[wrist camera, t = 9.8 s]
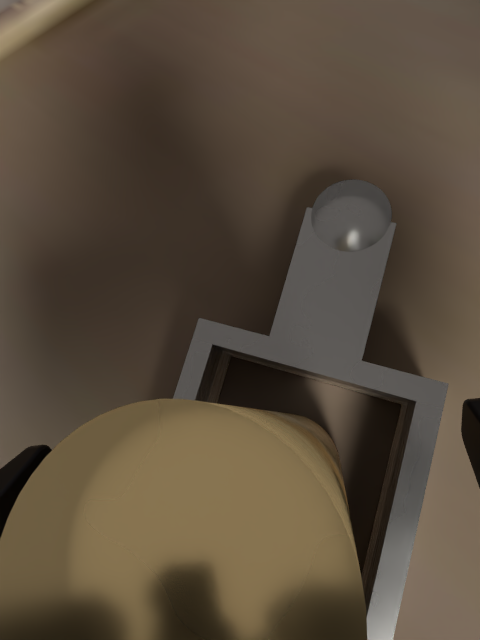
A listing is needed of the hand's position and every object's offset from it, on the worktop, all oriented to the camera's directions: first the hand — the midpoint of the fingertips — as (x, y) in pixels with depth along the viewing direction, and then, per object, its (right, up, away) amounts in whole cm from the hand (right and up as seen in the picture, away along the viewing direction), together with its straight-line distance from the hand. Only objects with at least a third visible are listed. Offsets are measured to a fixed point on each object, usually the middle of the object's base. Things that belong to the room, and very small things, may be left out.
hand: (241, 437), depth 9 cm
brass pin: (+2, -3, +8) cm, 8 cm away
